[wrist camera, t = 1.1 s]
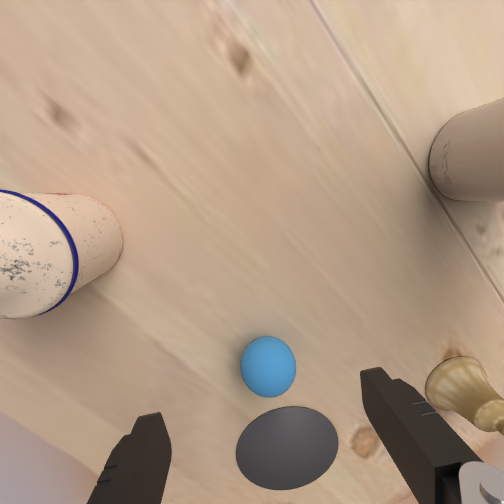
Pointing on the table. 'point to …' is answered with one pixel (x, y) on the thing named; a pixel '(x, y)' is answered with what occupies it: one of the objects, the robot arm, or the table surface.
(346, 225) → the table surface
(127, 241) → the table surface
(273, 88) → the table surface
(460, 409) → the hand bell
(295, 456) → the charcoal disc
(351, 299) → the table surface
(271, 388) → the ball
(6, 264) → the teacup with lid
